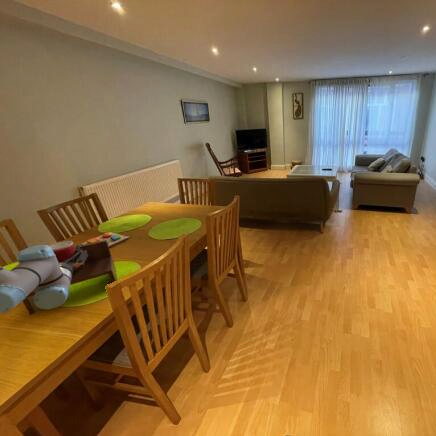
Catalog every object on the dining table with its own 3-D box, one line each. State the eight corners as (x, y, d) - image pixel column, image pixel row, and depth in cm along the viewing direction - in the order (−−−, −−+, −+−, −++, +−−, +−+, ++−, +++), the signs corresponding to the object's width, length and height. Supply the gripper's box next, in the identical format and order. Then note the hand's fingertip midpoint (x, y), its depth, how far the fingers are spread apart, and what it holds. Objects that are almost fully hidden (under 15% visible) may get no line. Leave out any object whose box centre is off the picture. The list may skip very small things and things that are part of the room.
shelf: (29, 314, 92) (9, 277, 85) (38, 292, 104) (21, 258, 97) (117, 286, 107) (106, 253, 100) (116, 270, 119) (106, 239, 112)
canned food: (85, 261, 105) (76, 239, 101) (73, 272, 98) (63, 248, 94) (66, 263, 104) (56, 241, 100) (52, 274, 97) (41, 250, 93)
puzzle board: (102, 251, 136) (100, 246, 135) (80, 246, 142) (78, 241, 141) (130, 238, 152) (129, 233, 150) (109, 234, 157) (107, 229, 156)
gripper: (21, 296, 81) (36, 266, 98) (97, 275, 92) (98, 251, 109) (11, 278, 78) (28, 250, 95) (91, 258, 89) (93, 236, 107)
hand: (65, 250), depth 102 cm, fingers closed on canned food, 8 cm apart
